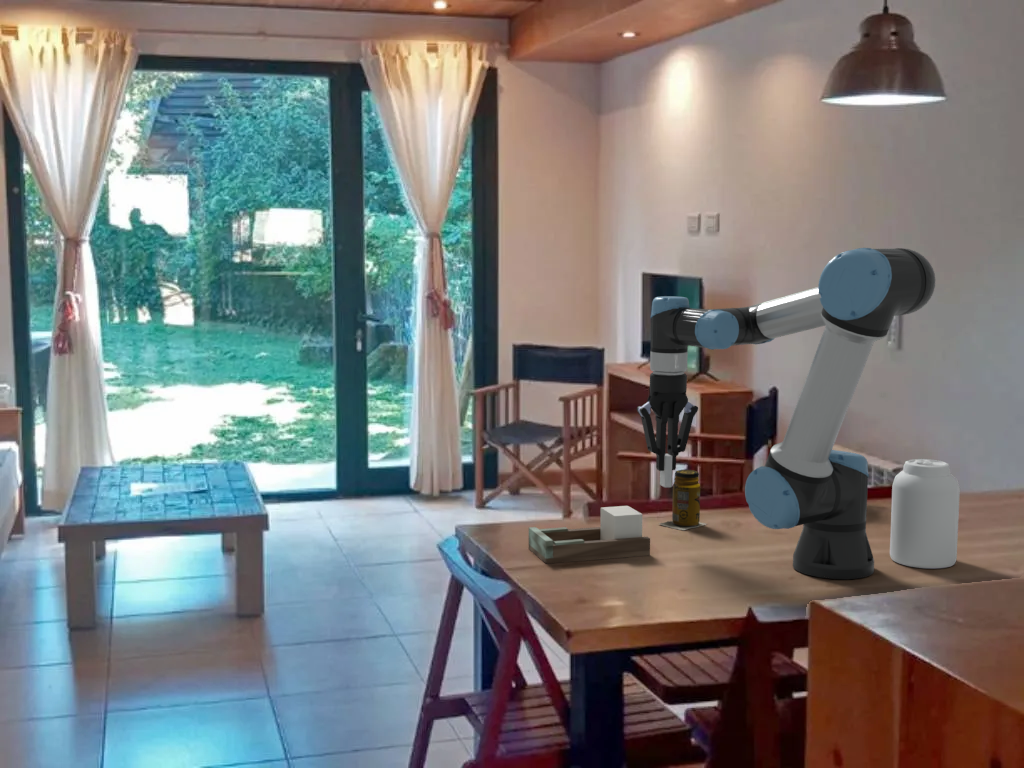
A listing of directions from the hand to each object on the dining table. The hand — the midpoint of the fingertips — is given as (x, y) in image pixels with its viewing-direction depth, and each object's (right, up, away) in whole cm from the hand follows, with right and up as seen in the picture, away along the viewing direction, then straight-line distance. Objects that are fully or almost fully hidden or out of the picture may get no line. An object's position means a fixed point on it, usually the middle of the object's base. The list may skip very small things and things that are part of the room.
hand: (665, 485), depth 247 cm
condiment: (+6, -11, +20) cm, 23 cm away
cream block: (-9, -12, -2) cm, 15 cm away
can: (+49, -14, -10) cm, 52 cm away
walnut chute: (-16, -13, -3) cm, 21 cm away
